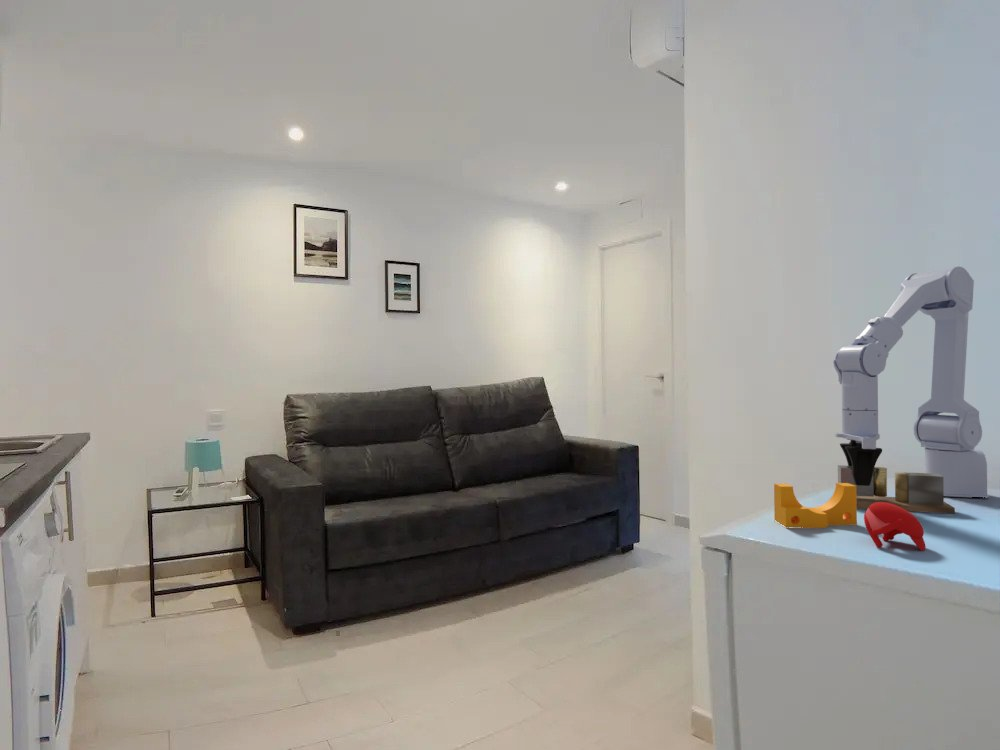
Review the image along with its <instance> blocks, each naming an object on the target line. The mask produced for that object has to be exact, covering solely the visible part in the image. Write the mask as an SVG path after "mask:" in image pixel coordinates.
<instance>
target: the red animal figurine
mask: <svg viewBox="0 0 1000 750" xmlns="http://www.w3.org/2000/svg"><path fill="white" fill-rule="evenodd" d="M863 520H864V526H865V528H866V530H867V533H868V534H869V536H870V538H871V539H872V542H873V544H874V545H875V546H876V547H877V548H882V547H883V545H884V544H883V543H882V540H883V541H884V542H888V541H893V540H894V539H895V536H897V535H901V534H903V535H907V536H908V537H910V538H909V539H911V540H912V542H913V543H914V545H915V546H917V547H918V549H919V550H920V551H922V552H925V550H926V543H925V540H924V533H925V532H924V527H923V525H922V523H921V522H920V521H919V520H918V518H917V517H916V516H915V515H914V514H913V513H912V512H911V511H907V510H905V509H903V508H901V507H899V506H897V505H894V504H891V503H886V502H877V503H873V504H872V505H870V506H869V508H868V509H866V511H865V513H864V516H863ZM879 535H882V538H879ZM881 539H882V540H881Z"/></svg>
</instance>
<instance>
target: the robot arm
mask: <svg viewBox="0 0 1000 750" xmlns="http://www.w3.org/2000/svg"><path fill="white" fill-rule="evenodd" d="M974 281H975V280H974V279H973V277H972V276H971V275H970V274H969V272H968V271H967V269H965V267H963V266H954V267H951V268H946V269H945V268H944V269H940V270H931V271H925V272H920V273H917V272H915V273H910V274H909V275H907V276H906V278H905V279H904V280H903V281H902V282H901V283H900V294H898V296H897V298H896V300H895V301H894V302H893V303H892V305H891V306H890V308H889V309H888V310H887V312H886V313H885V314H884V316H877V317H875V318H871V319H870V320H868V322H867V326H866V327H865V328H864V329H863V330H862V332H860V334H859V335H858V336H856V338H854V341H853V342H852V343H851V344H849V345H844V346H842V347H841V348H840V349H839V350H838V351H837V352H836V354H835V359H833V361H832V362H833V367H834V369H835V371H836V373H837V376H838V382H839V384H840V385H841V414H842V415H841V419H842V420H841V424H842V425H841V428H842V430H841V432H835V433H834V437H835V438H842V439H846V441H849V443H846V442H844V443H839V446H840V448H841V450H842V451H843V454H844V456H845V458H846V462H847V466H852V468H853V474H854V479H855V482H856V485H862V486H870V483H871V479H872V475H873V471H874V467H876V463H877V461H878V459H879V458H880V456H881V454H882V453H883V448H880V447H877V441H878V440H879V439H881V438H880V437H881V434H880V433H879V386H878V385H879V383H878V381H879V378H878V377H879V375H880V374H881V373H882V372H884V370H885V369H886V365H887V359H888V357H889V354H890V351H891V350H892V349H893V348H894V347H895V346H896V344H897V343H898V342H899V341H900V339H902V337H903V335H904V330H903V327H904V326H905V324H906V323H907V322H908V321H909V320H911V318H912V317H914V315H915V314H916V313H918V311H920V312H921V313H922V314H925V315H927V316H930V317H931V318H932V319H933V320H934V337H933V339H934V340H933V354H932V355H933V357H932V371H931V372H932V373H931V388H930V390H931V391H930V398H929V399H928V400H927V401H925V402H924V403H922V404H921V405H919V406H918V409H917V416H916V419H915V421H914V423H913V434H914V436H915V439H916V440H917V442H918V443H920V447H922V448H924V473H934V474H939V475H941V476H943V484H944V497H952V498H953V497H954V498H955V497H957V498H972V497H983V498H982V499H989V498H990V496H989V495H988V463H987V458H986V455H985V453H984V452H983V451H982V450H980V449H975V448H976V447H977V446H978V445H979V443H980V442H981V440H982V437H983V428H982V425H981V420H980V411H979V410H978V409H977V408H976V407H974V406H973V405H972V404H970V403H969V402H967V401H966V400H965V384H966V383H965V382H966V370H967V369H966V366H967V349H968V348H967V347H968V332H969V331H968V330H969V314H970V313H969V312H970V311H972V310H973V302H974V284H975V282H974ZM941 413H942V414H941ZM943 413H948V414H955V415H947V414H943ZM984 497H985V498H984ZM988 497H989V498H988Z"/></svg>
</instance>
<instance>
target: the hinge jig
mask: <svg viewBox="0 0 1000 750" xmlns="http://www.w3.org/2000/svg"><path fill="white" fill-rule="evenodd" d="M894 495H895V496H886V497H879V496H874V497H871V496H857V509H863V510H864V509H865V510H867V509H868V508H869V506H870V505H872V504H873V503H877V502H886V503H891V504H894V505H897V506H899V507H901V508H903V509H905V510H907V511H908V512H913V513H915V512H916V513H932V514H933V513H934V514H938V513H939V514H955V513H956V508H955V507H954V506H952V505H950V503H948V502H945V501H944V497H945V496H944V484H943V476H941V475H939V474H934V473H925V472H895V473H894Z"/></svg>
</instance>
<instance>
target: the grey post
mask: <svg viewBox="0 0 1000 750" xmlns="http://www.w3.org/2000/svg"><path fill="white" fill-rule="evenodd" d="M887 469H888V468H887V467H882V466H875V467H874V471H873V475H872V479H871V483H870V486H862V485H856V482H855V479H854V474H853V468H852V466H848V465H841V464H840V465H837V483H849V484H852V485H855V486H856V496H871V497H874V496H879V497H888V481H887V480H888V477H887V475H888V470H887Z"/></svg>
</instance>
